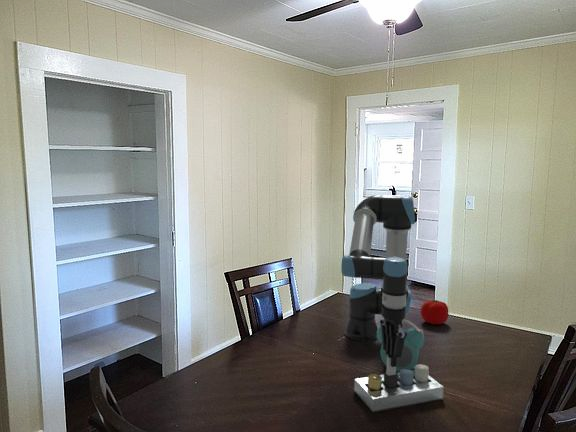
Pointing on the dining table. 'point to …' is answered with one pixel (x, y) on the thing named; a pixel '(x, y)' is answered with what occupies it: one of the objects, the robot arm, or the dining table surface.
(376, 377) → the gold rounded cylinder
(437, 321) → the tomato
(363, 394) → the white socket board
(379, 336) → the alarm clock
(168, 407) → the dining table surface
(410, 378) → the blue ovoid
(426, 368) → the white egg
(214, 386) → the dining table surface
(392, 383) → the black rounded cylinder
